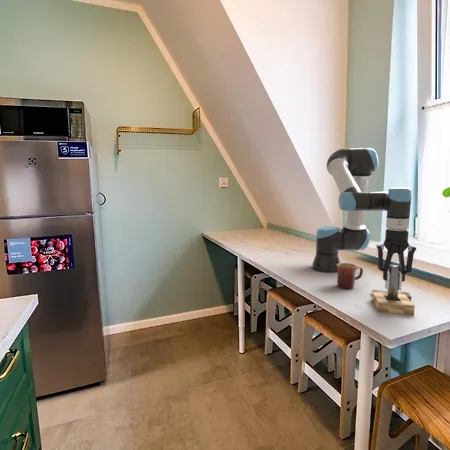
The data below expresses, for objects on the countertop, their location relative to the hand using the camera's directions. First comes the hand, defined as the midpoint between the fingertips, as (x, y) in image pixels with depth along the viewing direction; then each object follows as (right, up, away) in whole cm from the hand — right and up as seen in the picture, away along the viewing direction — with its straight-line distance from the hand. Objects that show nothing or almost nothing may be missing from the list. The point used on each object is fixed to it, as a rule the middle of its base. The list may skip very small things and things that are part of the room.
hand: (392, 288), depth 119 cm
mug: (-8, -4, +24) cm, 25 cm away
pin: (0, -5, +1) cm, 5 cm away
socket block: (0, -7, +1) cm, 7 cm away
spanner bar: (+5, -6, +11) cm, 14 cm away
